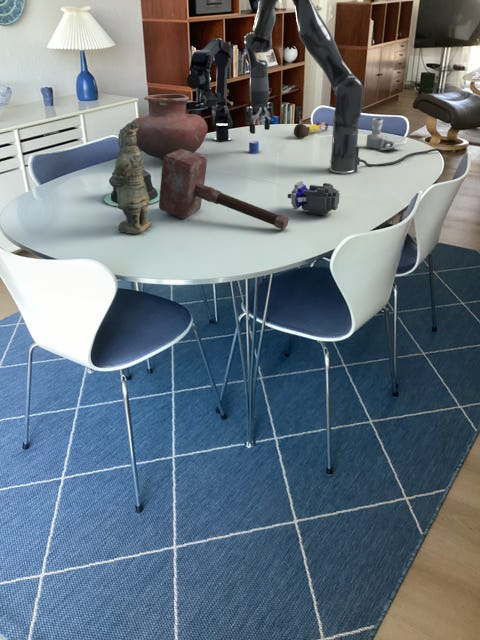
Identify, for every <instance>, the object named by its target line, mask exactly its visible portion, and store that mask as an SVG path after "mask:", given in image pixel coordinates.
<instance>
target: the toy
mask: <svg viewBox="0 0 480 640" xmlns="http://www.w3.org/2000/svg"><path fill="white" fill-rule="evenodd" d="M293 187H294V188H293V189H292V191H291V193H288V194H287V199H291V200H290V201H291V202H290V203H291V206H292V207H293V210H298V209H299V208H301V210H303V211H306V212H307V214H310V215H311V214H312V215H318V216H326V215H328V213H330V212H331V211H336V210H337V209H338V205H339V204H340V194H341V193H340V190H338V189H337V188H335V187H334V184H332V183H328V182H324V183H322V185H315V184H310V185H309V186H308V187H309V188H308V187H307V185H306V184H305V183H304V181H301V180H299V181H298V182H296V183H295V184H294V186H293Z"/></svg>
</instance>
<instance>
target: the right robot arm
mask: <svg viewBox="0 0 480 640" xmlns="http://www.w3.org/2000/svg"><path fill="white" fill-rule="evenodd" d="M278 1H279V0H258V6H257V12H256V16H255V19H254V23H253V27H252V31H253V32H249V33H247V34H246V35H245V36H244V40H243V41H244V42H243V44H244V49H245V52H246V55H247V60H248V65H249V102H250V103H251V104H250V105H251V106H245V108H244V114H245V115H244V122H245V123H246V124H248V125H249V133H250V134H252V135H254V134H256V121H257V120H258V119H259V117H262V118H263V119H264V121H263V122H264V124H263V125H264V126H263V127H264V128H263V129H264V130H265V131H269V130H270V128H271V119H273V118H274V117H275V115H274V114H275V113H274V102H271V101H270V97H269V96H270V94H269V93H270V91H269V90H270V89H269V87H270V85H269V66H268V61H267V60H266V59H261V58H258V57H257V56H256V54H264V53H268V52H270V51H271V49H272V47H273V38H272V37H273V29H274V26H275V24H276V18H277V15H276V10H275V6H276V4H277V2H278ZM291 1H292V3H293V6H294V9H295V17H296V26H297V27H296V28H297V34H298V36H299V39H300V41H301V42H302V44H303V46H304V47H305V49H306V50H307V52H308V54H309V55H310V56H311V57H312V59H313V60H314V61H315V63H316V64H317V65H318V66H319V67H320V68H321V69H322V71H323V72H324V74H325V76H326V78H327V79H328V81H329V83H330V86H331V87H332V90H333V92H334V95H335V104H334V105H335V106H334V107H335V108H334V114H333V119H332V121H333V123H332V124H333V125H332V136H331V138H332V139H331V153H330V160H329V163H330V168H329V171H330V172H331V173H334V174H340V175H346V174H352V173H355V172H358V166H360V163H363V164H364V165H365V166H366V167H382V166H383V167H384V166H389V165H394V164H397V163H399V162H402V161H404V160H406V159H407V158H409V157H411V156H415V155H420V154H421V155H422V154H428V153H431V152H440V153H441V154H444V153H445V151H444V150H443V149H442V148H431V149H427V150H421V151H415V152H411V153H408V154H406V155H404V156H402V157H401V158H398V159H396V160H394V161H389V162H382V163H368V162H367V161H366V160H365V159H362V158H360V157H359V151H360V145H359V144H358V138H359V127H360V119H361V116H362V115H361V114H362V107H363V96H364V86H363V84H362V82H361V80H359V78H358V77H356V76H355V74H353V72H352V71H351V70H350V68H349V67H348V65H347V64H346V62H345V61H344V59H343V58H342V55H341V53H340V51H339V48H338V45H337V43H336V41H335V39H334V36H333V35H332V33H331V31H330V29H329V27H328V26H327V24H326V22H325V20H324V19H323V18H322V16H321V15H320V13H319V11H318V9H317V8H316V6H315V4H314V3H313V1H312V0H291ZM269 101H270V102H269Z"/></svg>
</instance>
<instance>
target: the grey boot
mask: <svg viewBox="0 0 480 640" xmlns="http://www.w3.org/2000/svg"><path fill="white" fill-rule="evenodd" d="M383 123H384V119H383V118H380V117H376V118H375V117H374V118H372V121H371V125H372V129H371V133H370V134H367V136H366V144H365V148H369V149H375V150H380V151H388V150H396V149H399V148H400V147H403V146H405V145H406V144H405V143H398V144H397V143H396V140H392V139H390V138H389V137H388V136H387V135H381V134H382V126H383ZM380 151H379V152H380Z"/></svg>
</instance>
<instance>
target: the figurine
mask: <svg viewBox="0 0 480 640" xmlns="http://www.w3.org/2000/svg"><path fill="white" fill-rule="evenodd" d="M302 122H303V120H302V119H300V120H299V123H298V124H296V125H295V126H294V129H293V135H294V137H295V138H297V139H304V138H307V137H308V136H309V134H310V133H318V132H319V130H321V131H327V130H328V128H329V123H327V122H326V123H325V121H323V122H321V123H320V122H319V121H318V122H317V123H316V124H315V123H314V124H310V125H308V126H307V125H306V124H304V123H302Z"/></svg>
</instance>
